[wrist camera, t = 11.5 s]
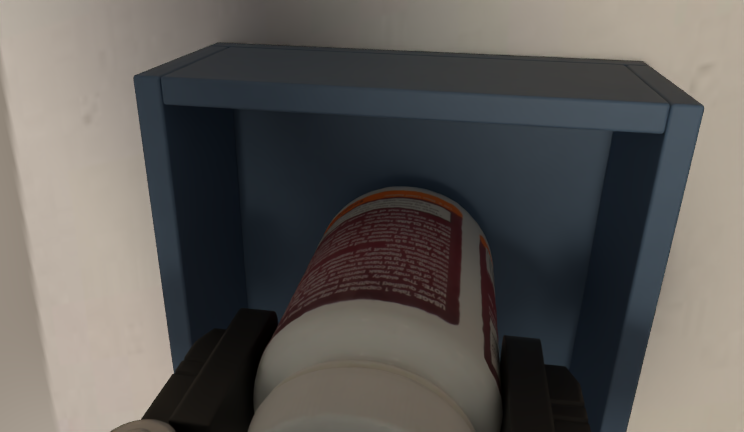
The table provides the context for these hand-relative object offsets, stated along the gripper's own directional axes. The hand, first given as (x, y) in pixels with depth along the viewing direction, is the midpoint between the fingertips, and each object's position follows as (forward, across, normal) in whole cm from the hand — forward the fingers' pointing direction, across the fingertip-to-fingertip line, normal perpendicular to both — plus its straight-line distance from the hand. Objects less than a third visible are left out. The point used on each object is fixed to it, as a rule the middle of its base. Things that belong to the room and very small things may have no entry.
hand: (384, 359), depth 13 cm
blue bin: (+6, 0, 0) cm, 6 cm away
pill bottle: (+5, 0, 0) cm, 5 cm away
